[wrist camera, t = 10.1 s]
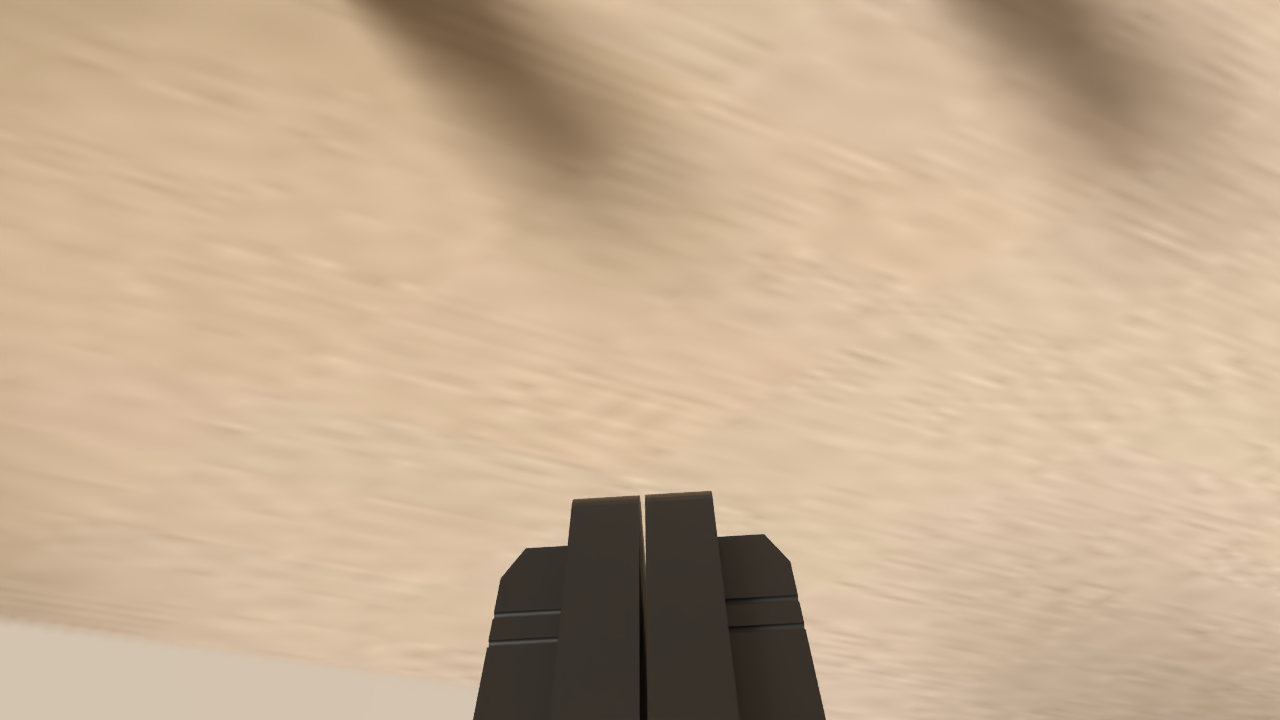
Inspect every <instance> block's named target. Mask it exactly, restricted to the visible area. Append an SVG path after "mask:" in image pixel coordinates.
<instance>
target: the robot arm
mask: <svg viewBox="0 0 1280 720" xmlns="http://www.w3.org/2000/svg"><path fill="white" fill-rule="evenodd" d="M645 526H646V563H645V550H644V537H643V524H642V512H641V502H640V496H622V497H605V498H588V499H574V500H573V502H572V509H571V519H570V528H569V538H568V546H558V547H541V548H526V549H525V550H524V551H523V552H522V554H521V555H520V556H519V557H518V558H517V560H516V561H515V562H514V563H513V564H512V566H511V567H510V568H509V569H508V570H507V572H506V573H505V574H504V575H503V576H502V578H501V580H500V585H499V590H498V595H497V600H496V605H495V610H494V619H493V621H492V626H491V631H490V636H489V648H487V651H486V656H485V661H484V667H483V672H482V677H481V682H480V687H479V692H478V697H477V702H476V708H475V713H474V718H473V720H826V718H825V714H824V709H823V705H822V700H821V696H820V692H819V687H818V683H817V678H816V674H815V669H814V665H813V660H812V656H811V652H810V647H809V643H808V638H807V634H806V629H804V620H803V616H802V612H801V607H800V603H799V601H798V594H797V589H796V585H795V580H794V576H793V572H792V567H791V563H790V561H789V560H788V559H787V558H786V557H785V556H784V555H783V553H782V552H781V551H780V550H779V549H778V548H777V547H776V546H775V545H774V544H773V543H772V542H771V541H770V540H769V539H768V538H767V537H766V536H765V535H764V534H760V535H743V536H726V537H717V530H716V522H715V514H714V506H713V498H712V492H711V491H702V492H685V493H668V494H652V495H645Z"/></svg>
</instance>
